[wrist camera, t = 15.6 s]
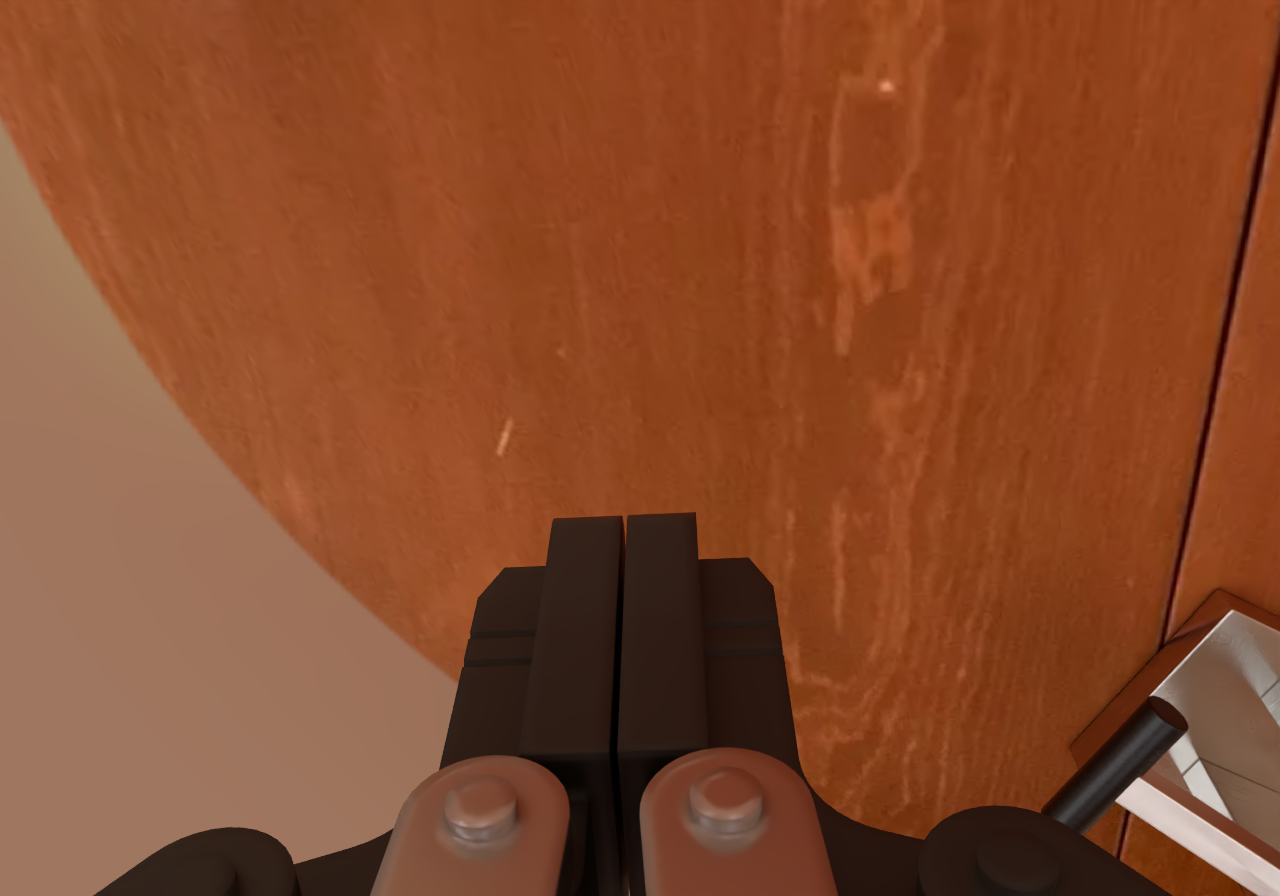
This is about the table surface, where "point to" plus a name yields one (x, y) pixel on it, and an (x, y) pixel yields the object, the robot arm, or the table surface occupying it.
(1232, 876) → the lever
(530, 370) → the table surface
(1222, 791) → the bracket
